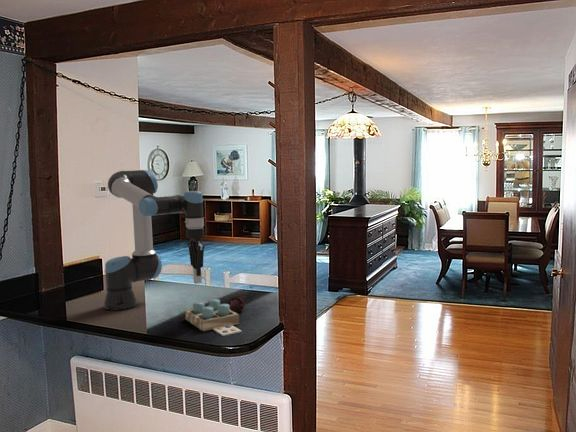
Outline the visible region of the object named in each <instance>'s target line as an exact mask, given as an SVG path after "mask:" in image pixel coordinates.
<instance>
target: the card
mask: <svg viewBox="0 0 576 432" xmlns="http://www.w3.org/2000/svg"><path fill="white" fill-rule="evenodd" d="M212 330H213V331H215V332H216V333H217V334H219V335H221V336H222V337H224V336H225V337H226V336H230V335H234V334H238V333H242V330H241V329H239V328H238V327H236V326H235V325H231V324H230V325H225V326H220V327H215V328H213V329H212Z"/></svg>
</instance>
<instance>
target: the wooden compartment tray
mask: <svg viewBox="0 0 576 432" xmlns="http://www.w3.org/2000/svg"><path fill="white" fill-rule="evenodd" d="M206 307H209V305H208V306H207V305H206ZM184 311H185V312H184V313H185V320H186V321H187V322H189V323H190V324H192V325H193V326H194V327H196V328H198V330H200V331H202V332H207V331H212V330H213V328H215V327H220V326H225V325H230V324H231V325H233V326H235V325H240V314H239V313H238V312H233V311H232V310H231V309H230V315H226V316H221V317H220V316H218V310H216V311H214V318H211V319H206V320H203V319H202V313H200V314H194V312H193V308H192V309H191V308H190V309H185V310H184Z"/></svg>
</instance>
